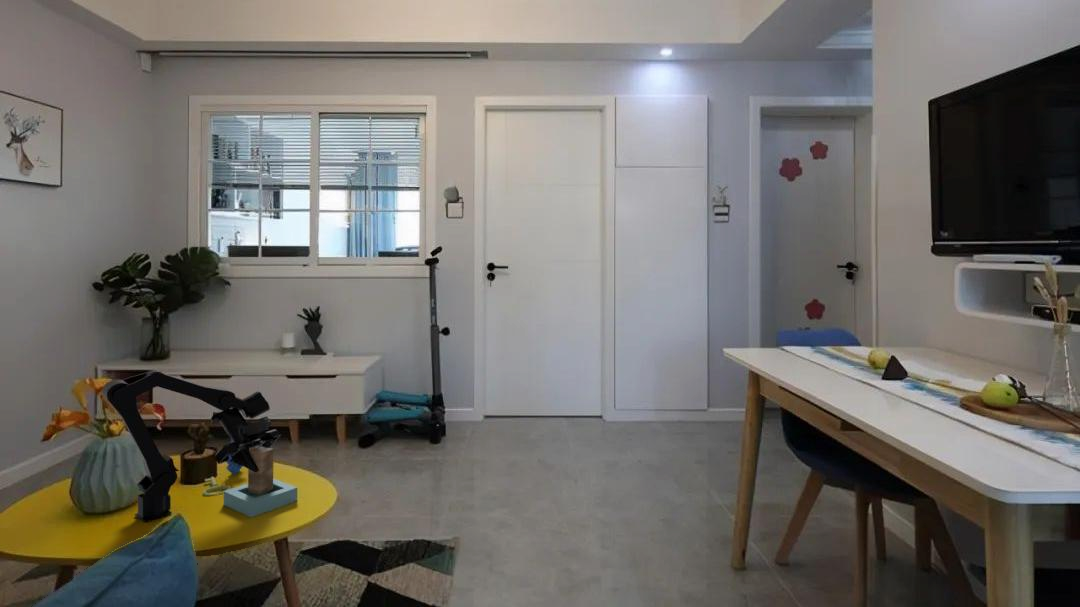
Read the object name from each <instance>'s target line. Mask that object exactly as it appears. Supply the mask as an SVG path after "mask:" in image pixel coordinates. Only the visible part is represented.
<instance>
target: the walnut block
mask: <svg viewBox="0 0 1080 607" xmlns="http://www.w3.org/2000/svg"><path fill="white" fill-rule="evenodd" d="M249 454H250V456H251V457H252V459H253V460H254V462H255V464H256V465H257V467H258V469H259V471H258V472H257V473H255V472H253V471H252V470H250V469H248V468H247V469H248V474H247V475H248V476H247V477H248V478H247V482H248V483H247V484H248V492H251V493H255V494H260V495H261V494H263V493H265V492H267V491H270V490H272V489H273V478H274V458H275V457H274V448H271V447H270V448H266V447H259V448H256V447H255V448H253V449H251V450H250V449H249Z"/></svg>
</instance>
